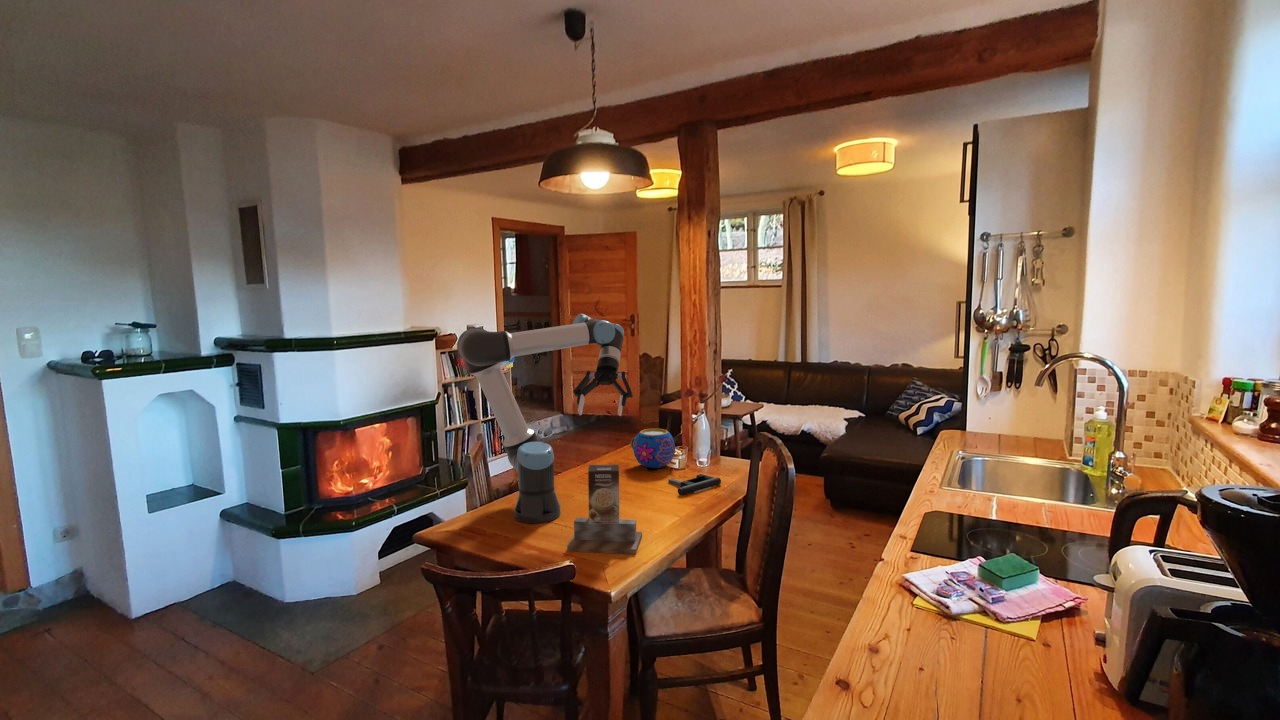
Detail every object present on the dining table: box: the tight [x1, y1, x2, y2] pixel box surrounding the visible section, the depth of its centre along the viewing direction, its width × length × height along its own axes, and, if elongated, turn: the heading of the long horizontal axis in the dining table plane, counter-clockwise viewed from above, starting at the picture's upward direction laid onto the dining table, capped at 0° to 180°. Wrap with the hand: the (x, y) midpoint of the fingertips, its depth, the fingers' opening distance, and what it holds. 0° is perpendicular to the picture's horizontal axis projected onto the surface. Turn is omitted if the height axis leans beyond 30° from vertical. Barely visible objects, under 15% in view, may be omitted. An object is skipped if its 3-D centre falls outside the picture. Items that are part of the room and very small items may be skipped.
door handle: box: [667, 473, 722, 496], centre depth 225 cm, size 3×20×16 cm
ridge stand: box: [566, 517, 643, 555], centre depth 176 cm, size 20×12×7 cm, turn 81°
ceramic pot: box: [630, 427, 676, 469], centre depth 248 cm, size 18×18×15 cm
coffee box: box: [587, 464, 620, 524], centre depth 174 cm, size 9×6×16 cm
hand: (599, 413), depth 198 cm, fingers open, 13 cm apart
